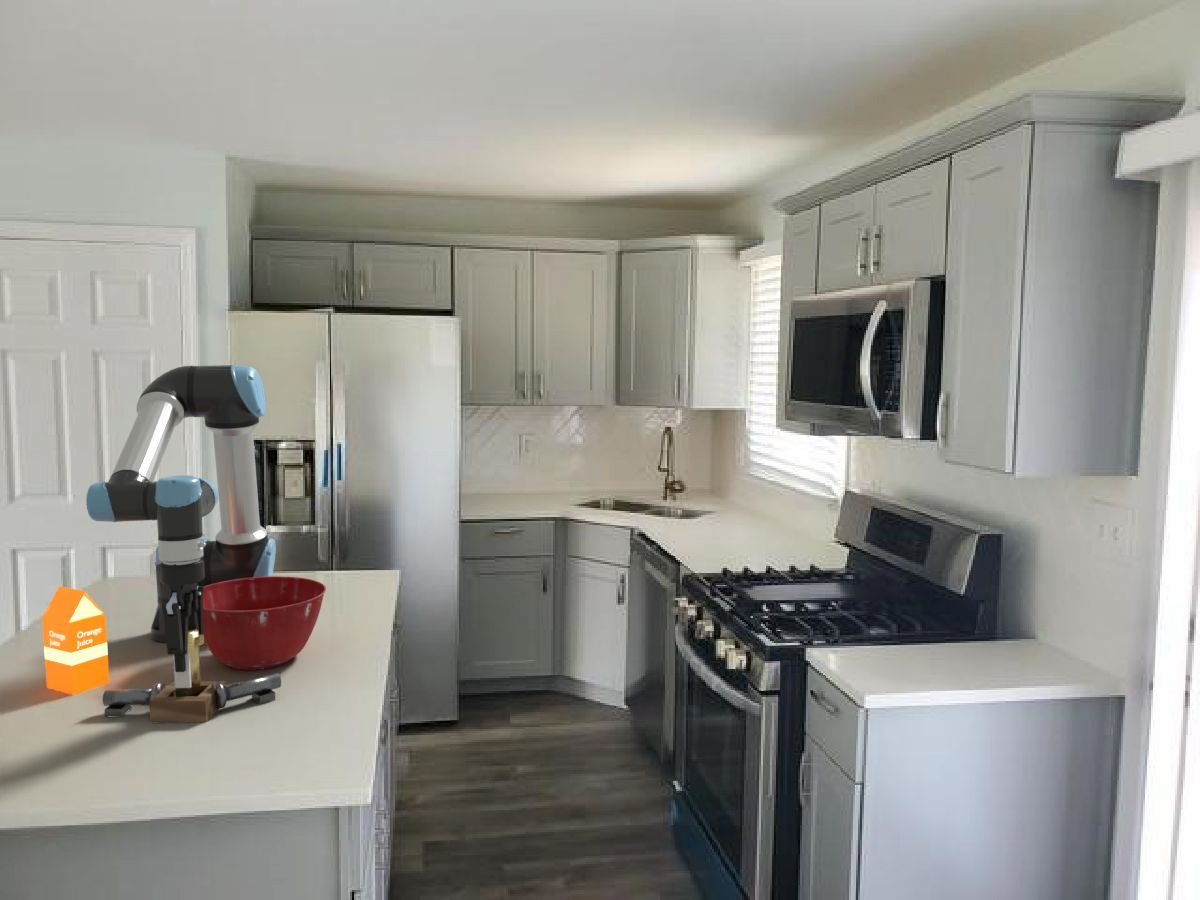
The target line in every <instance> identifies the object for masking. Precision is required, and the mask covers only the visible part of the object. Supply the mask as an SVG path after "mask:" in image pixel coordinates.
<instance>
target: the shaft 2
mask: <svg viewBox="0 0 1200 900" xmlns="http://www.w3.org/2000/svg"><path fill="white" fill-rule="evenodd" d="M221 681H222V680H217V682H213V683H212V685H211V688H213V689H214V690H215V691H216V709H218V710H219V709H224V708H225V707H226V704H227V702H229V701H233V700H236V699H241V698H245V697H249V696H251V699H253V700H254V699H255V700H256V702H257V703H258V702H259V703H258V704H260V703H261V704H264V703H263V702H265V703H268V701H269V702H272V701H271V700H273V701H275V700H276V692H275V691H273V690H277V689H280V688H281V687H282V678H281V675H280V673H278V672H274V673H270V674H269V673H268V674H266V675H261V676H257V677H253V678H250V679H245V680H241V681H236V682H233V683H229V684H225V685H224V686H223V684H222V682H221ZM255 700H254V701H255Z"/></svg>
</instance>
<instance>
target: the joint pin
mask: <svg viewBox="0 0 1200 900" xmlns="http://www.w3.org/2000/svg"><path fill="white" fill-rule="evenodd" d="M203 644H205V642H204V634H198V630H197V629H188V652H187V653H189V652H190V662H191V683H192V687H191V688H175V695H176V697H191V696H199V695H200V694H201V681H202V678H201V677H202V676H201V661H200V660H201V659H200V655H201V654H200V646H202V645H203ZM172 657H174V655H172ZM174 677H175V675H174Z"/></svg>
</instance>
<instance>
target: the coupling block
mask: <svg viewBox="0 0 1200 900" xmlns="http://www.w3.org/2000/svg"><path fill="white" fill-rule="evenodd" d="M217 681H218V680H217ZM217 681H215V680H209V681H207V680H206V681H205V680H204V681H202V680H201V694H200V695H199V696H191V697H176V695H175V681H172V682H171V683H170V684H168V685H166V688H165V689H163V690H162V691H161V692H160V693H159V694H158V695H156V696H155V697H154V698H153V699H152V700H151V701H149V705H148V707H149V723H150V724H152V723H153V724H159V723H160V724H163V722H164V724H166V722H168V723H169V722H170V723H171V722H172V723H207V722H208V721H209V720H210V719H211V718H212V717H213V716H214V714H215V713H217V711H218V710H219V709H216V691H215V690H214V689H213V688H211V685H212V683H213V682H217ZM220 681H221V682H222V684H223V686H224V685H226V681H225V680H220ZM207 720H208V721H207ZM151 722H152V723H151ZM154 722H156V723H154ZM157 722H158V723H157Z"/></svg>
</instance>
